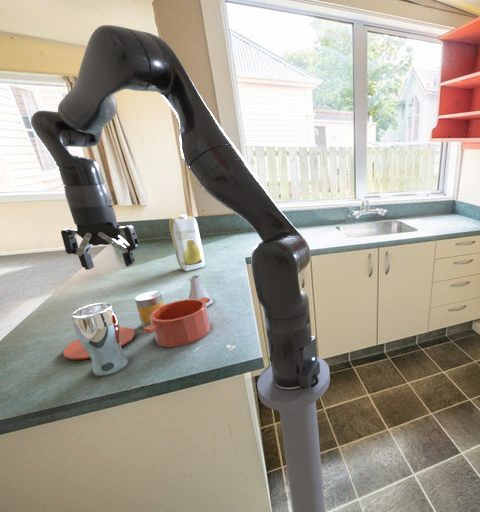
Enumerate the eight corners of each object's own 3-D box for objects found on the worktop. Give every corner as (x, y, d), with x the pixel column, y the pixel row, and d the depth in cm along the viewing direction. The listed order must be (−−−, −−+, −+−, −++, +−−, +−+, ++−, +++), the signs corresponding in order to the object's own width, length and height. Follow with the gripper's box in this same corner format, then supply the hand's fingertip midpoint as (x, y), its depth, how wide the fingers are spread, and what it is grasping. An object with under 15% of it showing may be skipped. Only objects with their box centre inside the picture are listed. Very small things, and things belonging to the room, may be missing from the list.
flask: (201, 298, 103) (196, 271, 100) (217, 301, 101) (212, 274, 98) (182, 307, 96) (175, 279, 93) (198, 311, 94) (192, 282, 91)
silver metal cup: (103, 359, 71) (84, 304, 67) (136, 355, 73) (120, 301, 68) (82, 379, 65) (60, 319, 60) (119, 374, 66) (100, 315, 62)
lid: (147, 334, 82) (142, 315, 80) (90, 366, 69) (82, 343, 67) (111, 327, 85) (105, 308, 83) (50, 356, 72) (41, 334, 71)
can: (173, 319, 89) (166, 292, 87) (153, 330, 84) (145, 301, 81) (157, 316, 91) (150, 290, 88) (137, 327, 85) (129, 298, 83)
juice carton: (184, 272, 127) (171, 217, 119) (177, 268, 131) (165, 215, 124) (207, 266, 133) (197, 214, 126) (200, 263, 138) (190, 212, 131)
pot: (227, 320, 89) (223, 297, 87) (172, 356, 72) (166, 330, 70) (193, 314, 92) (189, 293, 90) (134, 348, 76) (126, 322, 73)
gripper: (41, 207, 66) (65, 275, 71) (117, 204, 69) (135, 269, 74) (65, 203, 72) (86, 265, 77) (133, 200, 76) (149, 260, 81)
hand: (110, 267), depth 76 cm, fingers open, 8 cm apart
